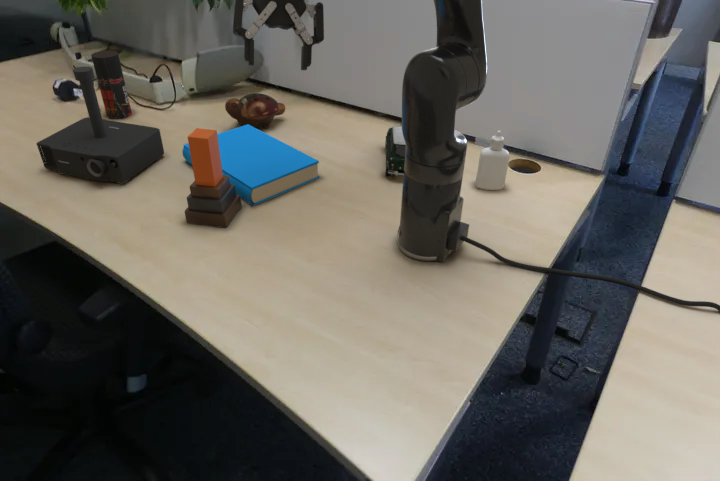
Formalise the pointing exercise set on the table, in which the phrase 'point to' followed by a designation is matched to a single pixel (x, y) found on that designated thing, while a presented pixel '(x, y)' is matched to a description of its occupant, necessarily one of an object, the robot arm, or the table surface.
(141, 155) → the projector
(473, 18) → the robot arm
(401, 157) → the miniature car
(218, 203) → the brown stepped pyramid
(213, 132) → the bar
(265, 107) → the decorative turtle
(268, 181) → the book
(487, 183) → the eye dropper bottle
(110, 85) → the deodorant
